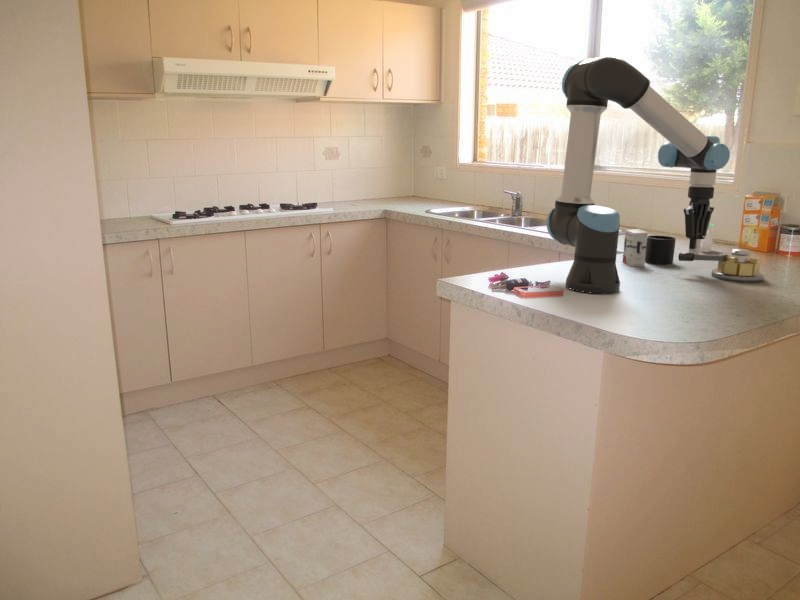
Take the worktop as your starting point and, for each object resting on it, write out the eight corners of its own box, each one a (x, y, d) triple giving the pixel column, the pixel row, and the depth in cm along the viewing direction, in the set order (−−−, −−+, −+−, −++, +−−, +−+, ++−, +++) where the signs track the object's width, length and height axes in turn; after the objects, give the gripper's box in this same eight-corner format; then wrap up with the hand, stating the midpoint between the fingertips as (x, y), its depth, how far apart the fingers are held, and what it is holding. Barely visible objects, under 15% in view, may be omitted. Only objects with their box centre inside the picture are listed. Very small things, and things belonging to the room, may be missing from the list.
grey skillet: (764, 276, 207) (766, 258, 205) (683, 273, 209) (686, 255, 207) (748, 269, 218) (751, 252, 216) (672, 266, 220) (674, 249, 218)
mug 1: (652, 258, 245) (655, 233, 243) (678, 264, 235) (681, 238, 233) (633, 259, 241) (636, 235, 239) (659, 265, 231) (662, 239, 229)
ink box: (621, 261, 237) (625, 228, 234) (635, 262, 237) (638, 229, 234) (630, 266, 229) (634, 232, 226) (644, 266, 229) (648, 232, 226)
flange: (733, 283, 204) (737, 254, 202) (701, 273, 218) (704, 246, 216) (774, 281, 208) (779, 253, 205) (740, 272, 222) (744, 245, 220)
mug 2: (716, 254, 257) (719, 227, 255) (694, 253, 258) (697, 226, 256) (707, 249, 269) (711, 223, 266) (686, 248, 270) (689, 222, 267)
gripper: (703, 184, 219) (694, 255, 224) (678, 185, 212) (670, 258, 217) (724, 185, 212) (715, 258, 218) (699, 187, 206) (691, 262, 211)
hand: (693, 258), depth 218 cm, fingers closed
